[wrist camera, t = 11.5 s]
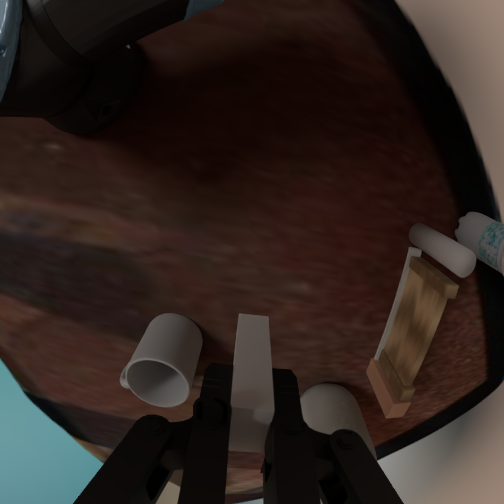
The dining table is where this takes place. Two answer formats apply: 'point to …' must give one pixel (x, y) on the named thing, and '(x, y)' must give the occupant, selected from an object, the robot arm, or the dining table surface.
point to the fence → (440, 250)
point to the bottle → (483, 238)
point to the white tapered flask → (334, 411)
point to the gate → (415, 324)
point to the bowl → (171, 489)
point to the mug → (164, 361)
